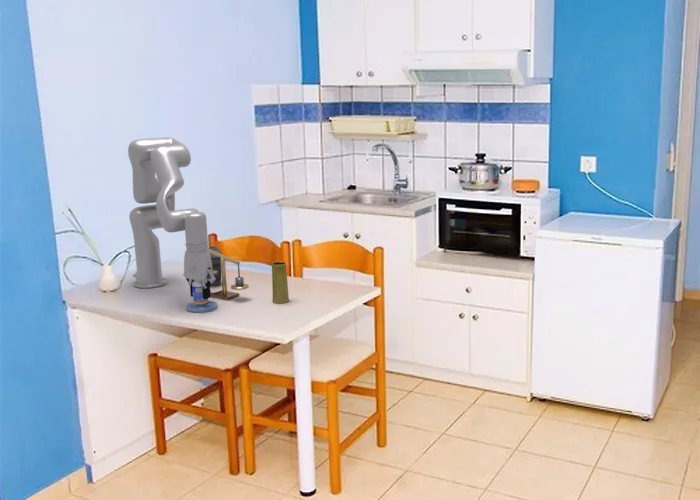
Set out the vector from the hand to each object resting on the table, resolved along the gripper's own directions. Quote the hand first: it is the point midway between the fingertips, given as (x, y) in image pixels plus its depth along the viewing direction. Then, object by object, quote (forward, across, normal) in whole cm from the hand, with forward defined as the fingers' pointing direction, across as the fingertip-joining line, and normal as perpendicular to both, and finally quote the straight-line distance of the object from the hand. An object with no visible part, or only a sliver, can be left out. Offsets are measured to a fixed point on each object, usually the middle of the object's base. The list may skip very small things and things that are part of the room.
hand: (200, 296), depth 272 cm
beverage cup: (+5, -18, +25) cm, 31 cm away
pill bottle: (+2, 0, 0) cm, 2 cm away
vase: (+4, +19, +21) cm, 29 cm away
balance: (+4, -3, +15) cm, 16 cm away
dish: (+4, 0, 0) cm, 4 cm away
